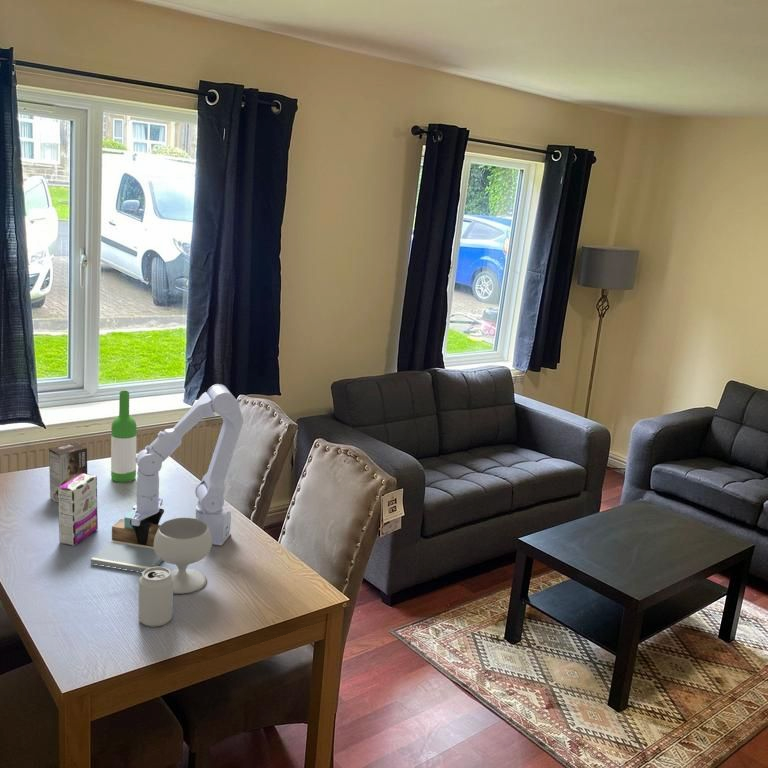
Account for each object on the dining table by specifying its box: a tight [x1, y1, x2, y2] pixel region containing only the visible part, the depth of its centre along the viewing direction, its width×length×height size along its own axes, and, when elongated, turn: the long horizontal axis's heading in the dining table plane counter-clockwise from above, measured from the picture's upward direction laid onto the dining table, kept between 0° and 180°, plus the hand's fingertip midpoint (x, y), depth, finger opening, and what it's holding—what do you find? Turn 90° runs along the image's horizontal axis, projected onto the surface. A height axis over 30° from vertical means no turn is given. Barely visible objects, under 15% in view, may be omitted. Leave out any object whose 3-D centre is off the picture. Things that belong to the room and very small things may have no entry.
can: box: [138, 566, 174, 628], centre depth 167 cm, size 8×8×12 cm
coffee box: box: [48, 442, 88, 503], centre depth 224 cm, size 9×6×16 cm
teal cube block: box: [124, 511, 135, 529], centre depth 201 cm, size 4×4×3 cm
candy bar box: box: [57, 473, 99, 547], centre depth 200 cm, size 11×5×16 cm, turn 168°
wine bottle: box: [110, 390, 138, 483], centre depth 239 cm, size 8×8×30 cm
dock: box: [90, 539, 164, 572], centre depth 193 cm, size 16×11×2 cm
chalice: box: [154, 517, 213, 595], centre depth 183 cm, size 14×14×15 cm
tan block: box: [111, 518, 162, 547], centre depth 202 cm, size 14×5×5 cm, turn 82°
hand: (147, 539), depth 202 cm, fingers closed on tan block, 5 cm apart
